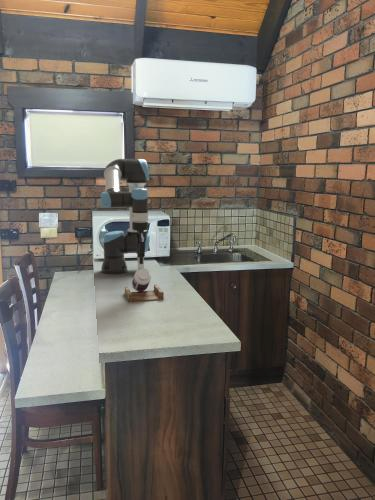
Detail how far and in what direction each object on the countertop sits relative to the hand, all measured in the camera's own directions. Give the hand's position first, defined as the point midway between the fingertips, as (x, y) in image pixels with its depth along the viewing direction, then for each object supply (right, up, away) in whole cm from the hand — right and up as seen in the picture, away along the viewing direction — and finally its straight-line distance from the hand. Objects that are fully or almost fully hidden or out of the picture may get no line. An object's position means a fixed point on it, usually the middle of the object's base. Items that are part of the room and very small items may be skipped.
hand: (140, 269), depth 205 cm
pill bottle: (-1, -8, +6) cm, 9 cm away
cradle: (+2, -13, -3) cm, 13 cm away
